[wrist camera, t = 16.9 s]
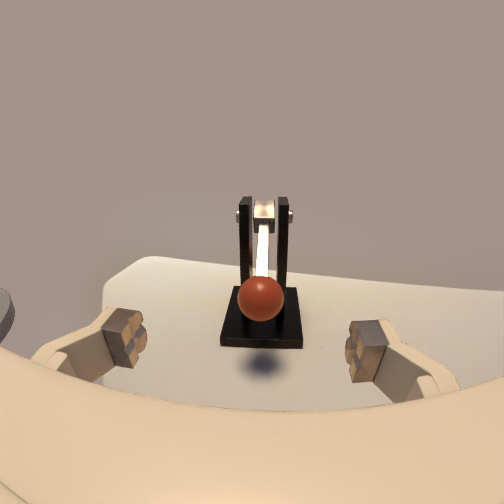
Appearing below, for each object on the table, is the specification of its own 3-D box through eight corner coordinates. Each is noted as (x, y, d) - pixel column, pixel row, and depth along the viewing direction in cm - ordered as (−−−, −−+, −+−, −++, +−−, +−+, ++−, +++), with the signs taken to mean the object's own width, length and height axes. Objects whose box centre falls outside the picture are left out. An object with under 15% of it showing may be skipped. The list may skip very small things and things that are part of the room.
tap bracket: (302, 348, 29) (314, 214, 24) (220, 345, 30) (211, 213, 24) (295, 294, 40) (301, 192, 35) (234, 292, 41) (230, 191, 36)
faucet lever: (282, 329, 24) (285, 309, 21) (237, 327, 25) (233, 307, 22) (282, 220, 33) (283, 194, 30) (247, 220, 33) (245, 193, 30)
